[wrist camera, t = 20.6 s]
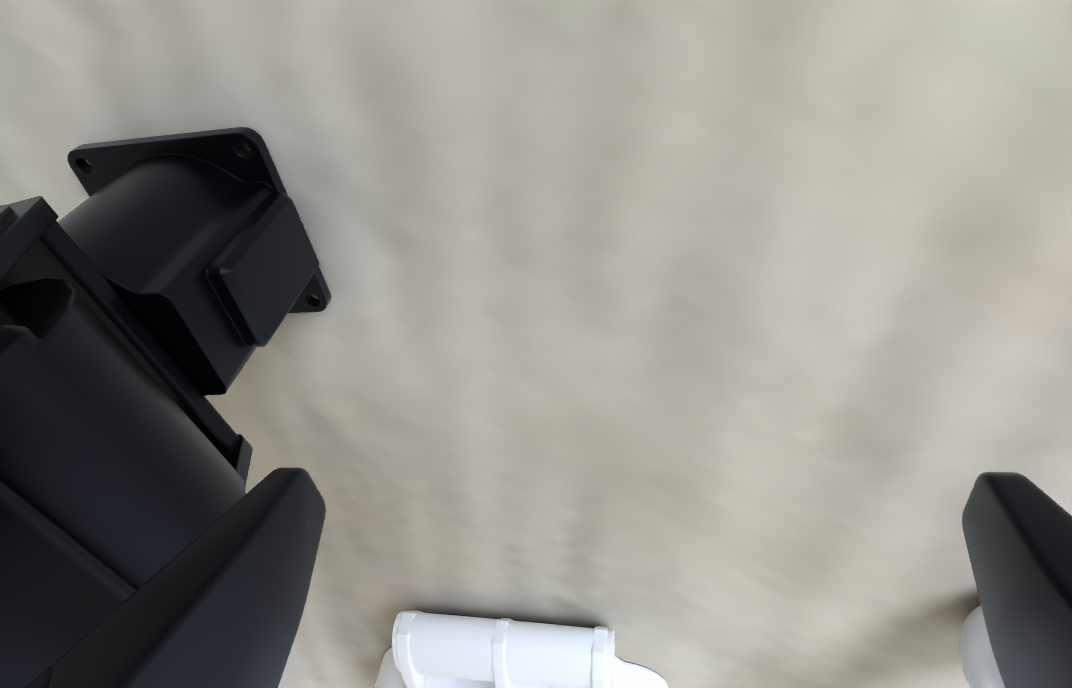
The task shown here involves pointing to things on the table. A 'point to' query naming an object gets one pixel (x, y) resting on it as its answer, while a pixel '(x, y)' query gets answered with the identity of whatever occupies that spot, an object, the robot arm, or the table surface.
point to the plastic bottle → (978, 653)
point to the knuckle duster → (504, 655)
